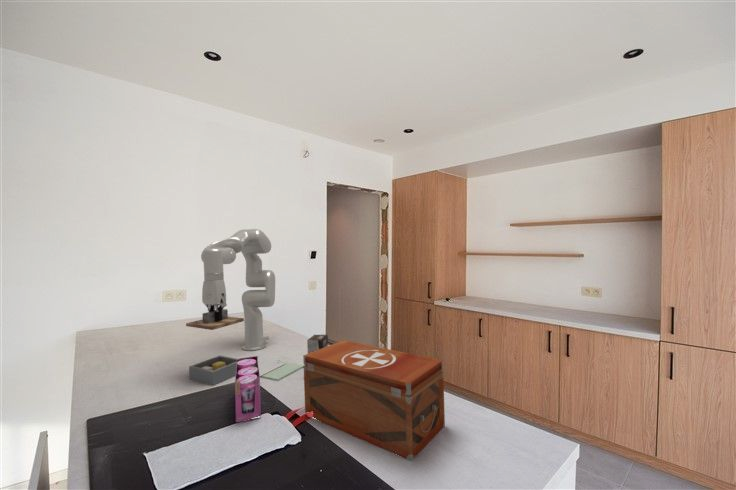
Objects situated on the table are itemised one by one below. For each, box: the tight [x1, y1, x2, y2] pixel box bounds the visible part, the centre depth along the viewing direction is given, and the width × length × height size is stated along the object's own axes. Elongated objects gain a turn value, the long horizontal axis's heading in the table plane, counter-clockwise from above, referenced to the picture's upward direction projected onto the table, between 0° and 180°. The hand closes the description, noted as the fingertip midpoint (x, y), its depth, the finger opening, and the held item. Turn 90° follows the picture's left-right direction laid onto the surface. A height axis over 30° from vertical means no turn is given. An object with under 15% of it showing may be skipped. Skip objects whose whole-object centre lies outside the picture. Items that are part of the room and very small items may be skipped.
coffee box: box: [306, 334, 329, 354], centre depth 145 cm, size 9×6×16 cm
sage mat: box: [260, 360, 304, 382], centre depth 150 cm, size 17×17×1 cm
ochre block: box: [212, 361, 226, 371], centre depth 148 cm, size 4×4×4 cm
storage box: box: [188, 355, 238, 387], centre depth 144 cm, size 15×15×6 cm
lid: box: [185, 308, 244, 331], centre depth 144 cm, size 16×16×6 cm
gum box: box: [234, 355, 262, 423], centre depth 118 cm, size 24×8×14 cm, turn 20°
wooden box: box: [303, 339, 446, 462], centre depth 106 cm, size 20×41×20 cm, turn 52°
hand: (215, 319), depth 144 cm, fingers closed on lid, 3 cm apart
